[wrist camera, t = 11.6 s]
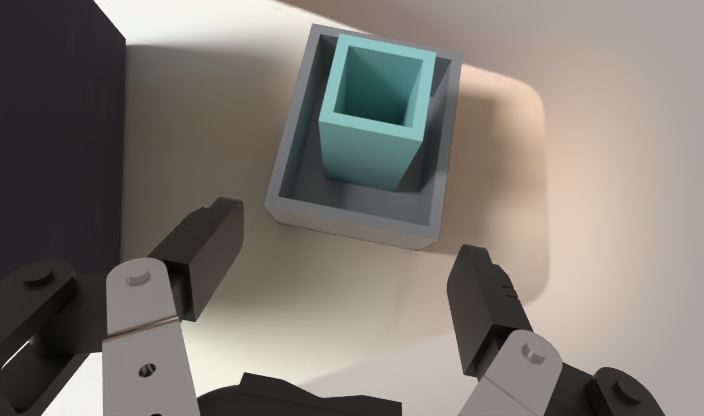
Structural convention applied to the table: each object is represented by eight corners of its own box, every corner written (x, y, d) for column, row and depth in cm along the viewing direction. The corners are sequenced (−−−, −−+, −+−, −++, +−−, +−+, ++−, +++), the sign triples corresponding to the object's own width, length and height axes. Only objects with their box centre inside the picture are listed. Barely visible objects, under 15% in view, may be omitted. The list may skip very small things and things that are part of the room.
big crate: (417, 250, 28) (438, 240, 23) (278, 223, 28) (263, 205, 23) (440, 96, 32) (463, 53, 26) (316, 72, 32) (312, 23, 26)
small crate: (393, 192, 29) (422, 141, 19) (324, 178, 29) (318, 120, 19) (404, 129, 30) (436, 52, 20) (338, 116, 30) (339, 33, 20)
